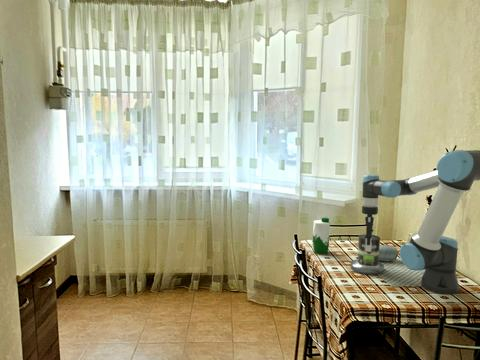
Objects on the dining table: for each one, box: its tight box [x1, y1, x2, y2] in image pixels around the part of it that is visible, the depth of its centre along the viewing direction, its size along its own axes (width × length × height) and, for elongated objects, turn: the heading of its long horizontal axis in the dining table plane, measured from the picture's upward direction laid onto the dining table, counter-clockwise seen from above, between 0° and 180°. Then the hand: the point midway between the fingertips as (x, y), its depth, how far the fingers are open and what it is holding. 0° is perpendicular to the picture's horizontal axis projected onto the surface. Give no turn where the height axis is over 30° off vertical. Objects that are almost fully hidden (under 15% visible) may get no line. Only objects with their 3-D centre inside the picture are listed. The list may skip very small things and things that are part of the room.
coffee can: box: [357, 233, 381, 267], centre depth 189 cm, size 10×10×14 cm
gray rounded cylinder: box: [379, 244, 399, 262], centre depth 204 cm, size 14×10×10 cm
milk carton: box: [312, 217, 331, 255], centre depth 217 cm, size 9×9×20 cm
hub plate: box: [350, 259, 385, 276], centre depth 190 cm, size 16×16×3 cm
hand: (368, 247), depth 189 cm, fingers open, 13 cm apart
